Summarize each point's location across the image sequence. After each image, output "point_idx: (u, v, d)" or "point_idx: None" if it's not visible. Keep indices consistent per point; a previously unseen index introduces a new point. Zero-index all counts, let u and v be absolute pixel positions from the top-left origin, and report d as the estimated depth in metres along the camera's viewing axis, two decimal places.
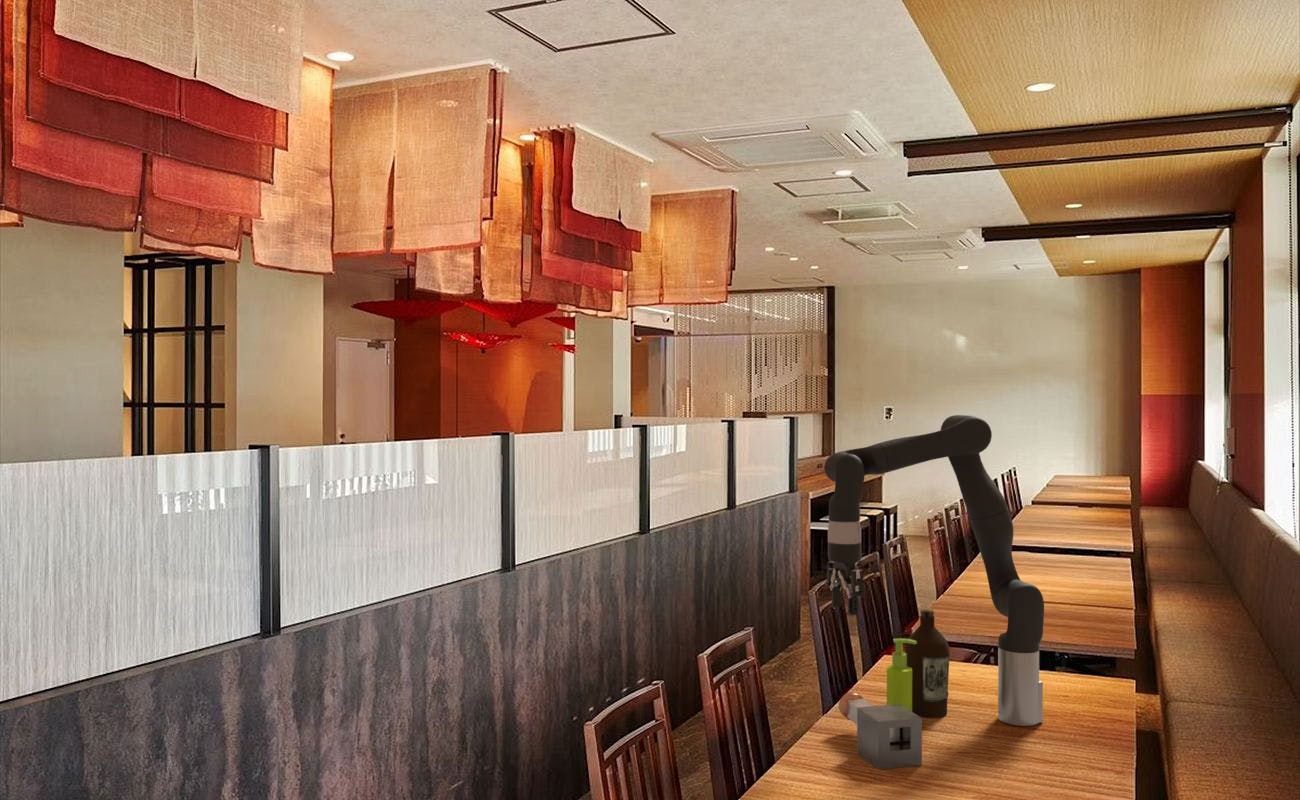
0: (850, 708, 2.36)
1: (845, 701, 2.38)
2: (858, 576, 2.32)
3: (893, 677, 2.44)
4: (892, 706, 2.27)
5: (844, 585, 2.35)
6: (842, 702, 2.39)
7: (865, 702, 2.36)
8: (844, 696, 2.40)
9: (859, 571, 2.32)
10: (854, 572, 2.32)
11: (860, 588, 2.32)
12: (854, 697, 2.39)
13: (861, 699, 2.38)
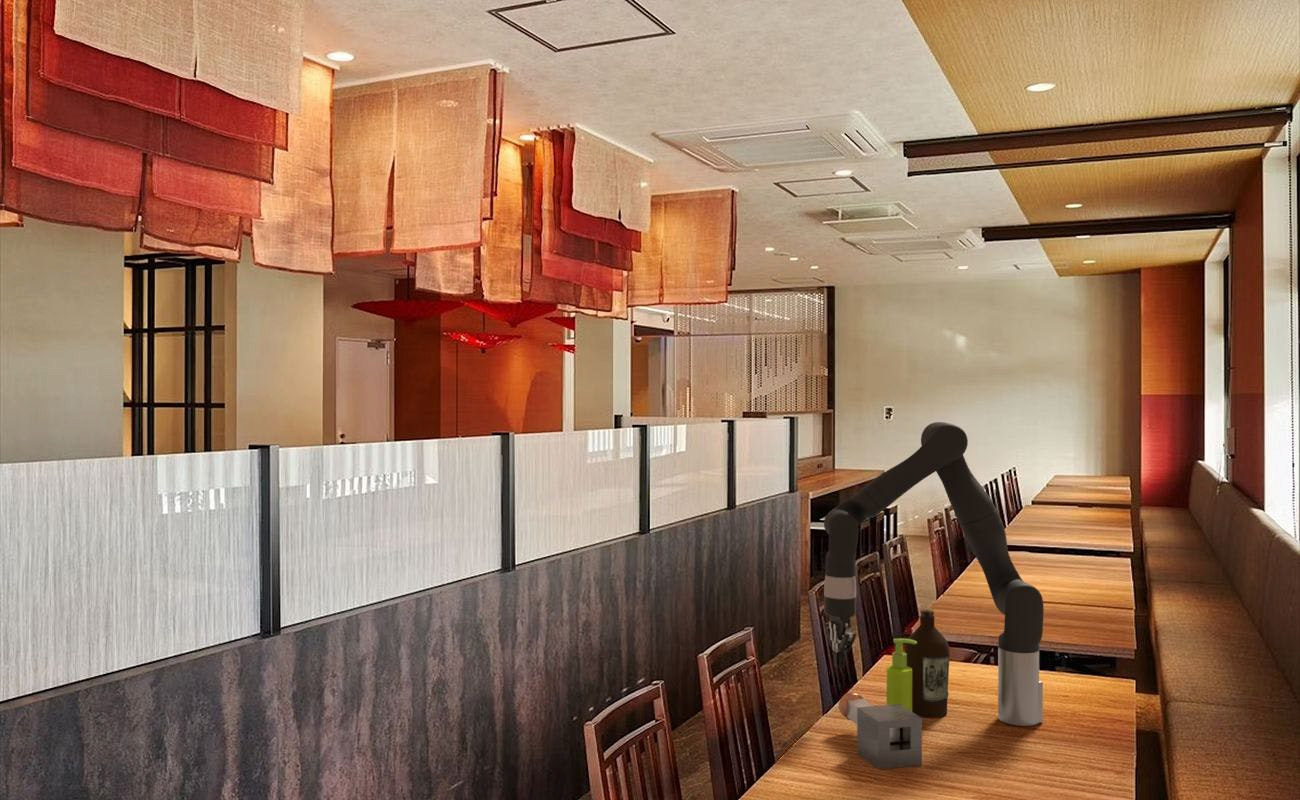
0: (850, 708, 2.36)
1: (845, 701, 2.38)
2: (850, 639, 2.41)
3: (893, 677, 2.44)
4: (892, 706, 2.27)
5: (835, 640, 2.45)
6: (842, 702, 2.39)
7: (865, 702, 2.36)
8: (844, 696, 2.40)
9: (852, 636, 2.41)
10: (847, 637, 2.40)
11: None
12: (854, 697, 2.39)
13: (861, 699, 2.38)
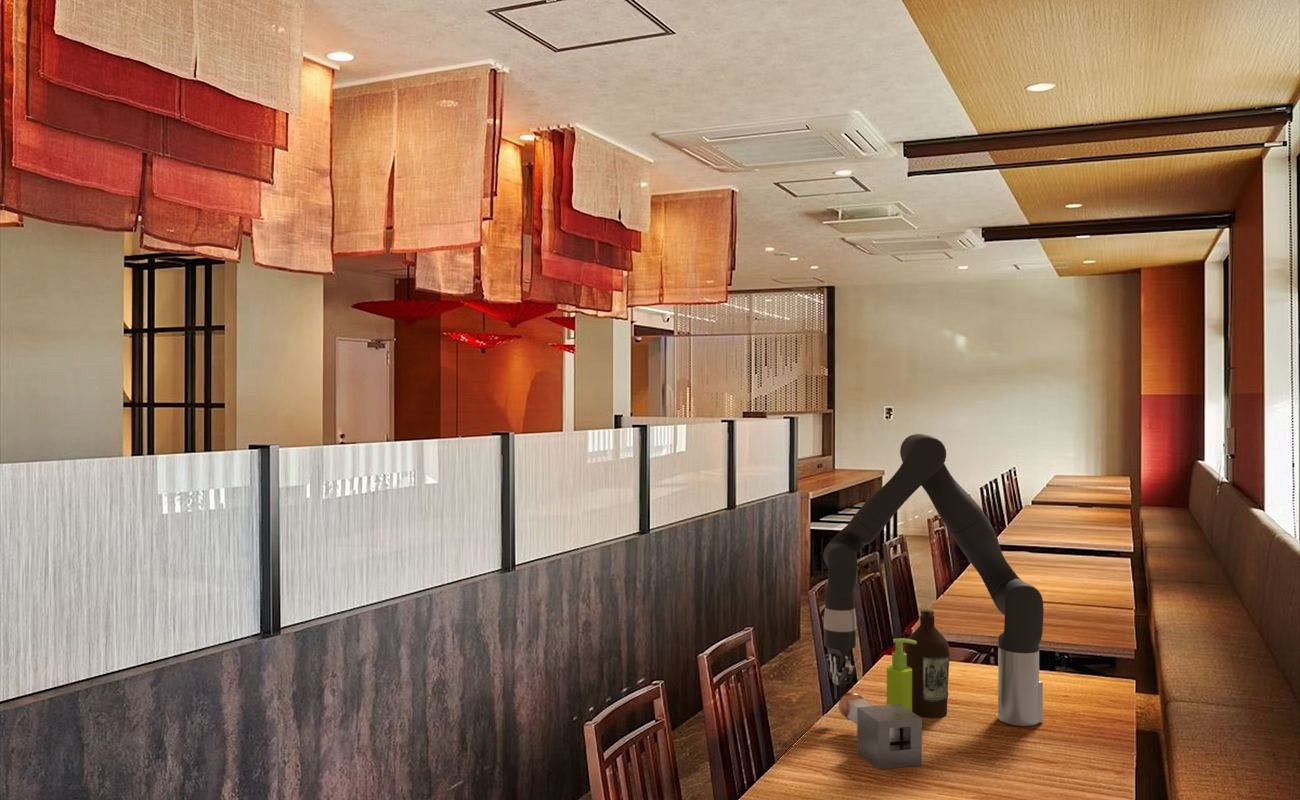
0: (850, 708, 2.36)
1: (845, 701, 2.38)
2: (850, 672, 2.41)
3: (893, 677, 2.44)
4: (892, 706, 2.27)
5: (835, 672, 2.45)
6: (842, 702, 2.39)
7: (865, 702, 2.36)
8: (844, 696, 2.40)
9: (852, 669, 2.41)
10: (847, 670, 2.40)
11: (848, 678, 2.43)
12: (854, 697, 2.39)
13: (861, 699, 2.38)
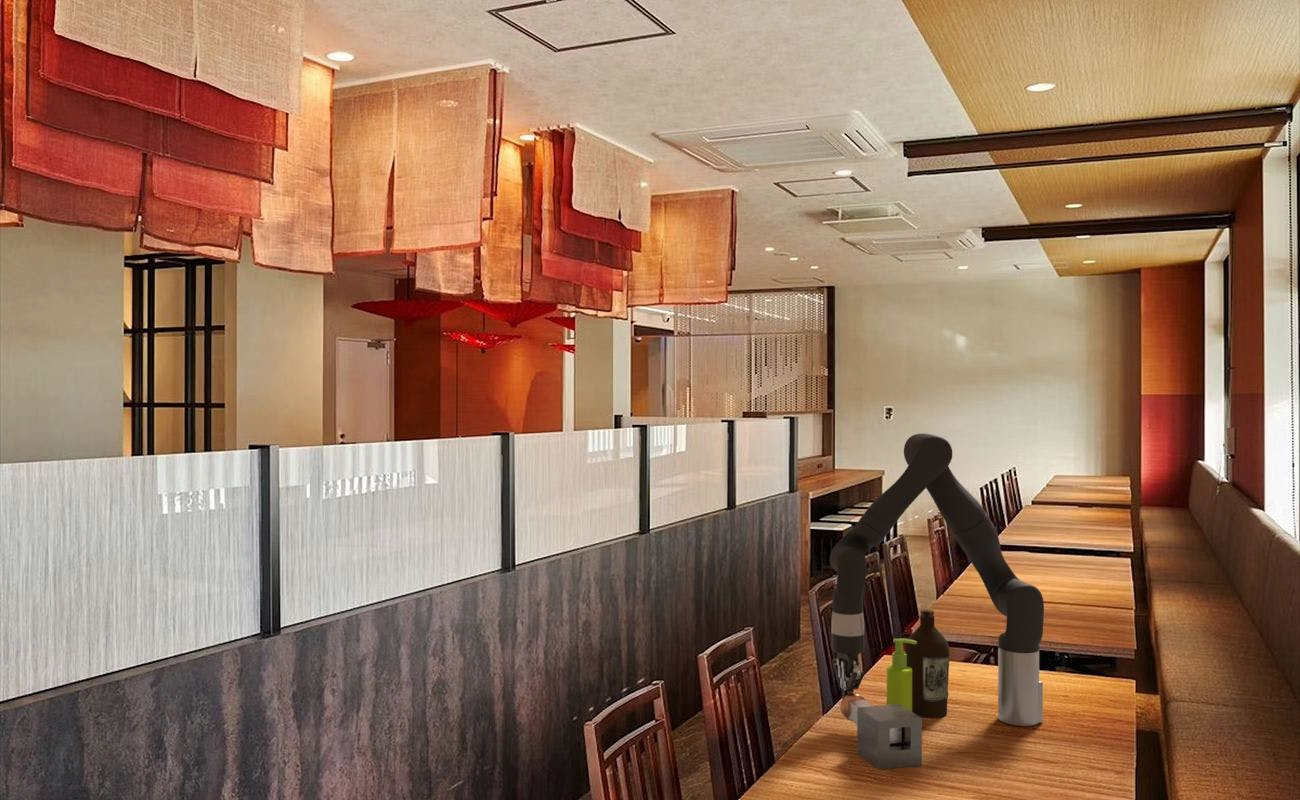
0: (852, 709, 2.36)
1: (846, 702, 2.38)
2: (858, 678, 2.37)
3: (893, 677, 2.44)
4: (892, 706, 2.27)
5: (843, 677, 2.41)
6: (843, 703, 2.38)
7: (867, 703, 2.35)
8: (846, 697, 2.39)
9: (860, 674, 2.37)
10: (855, 675, 2.36)
11: (856, 683, 2.39)
12: (855, 698, 2.38)
13: (863, 700, 2.38)
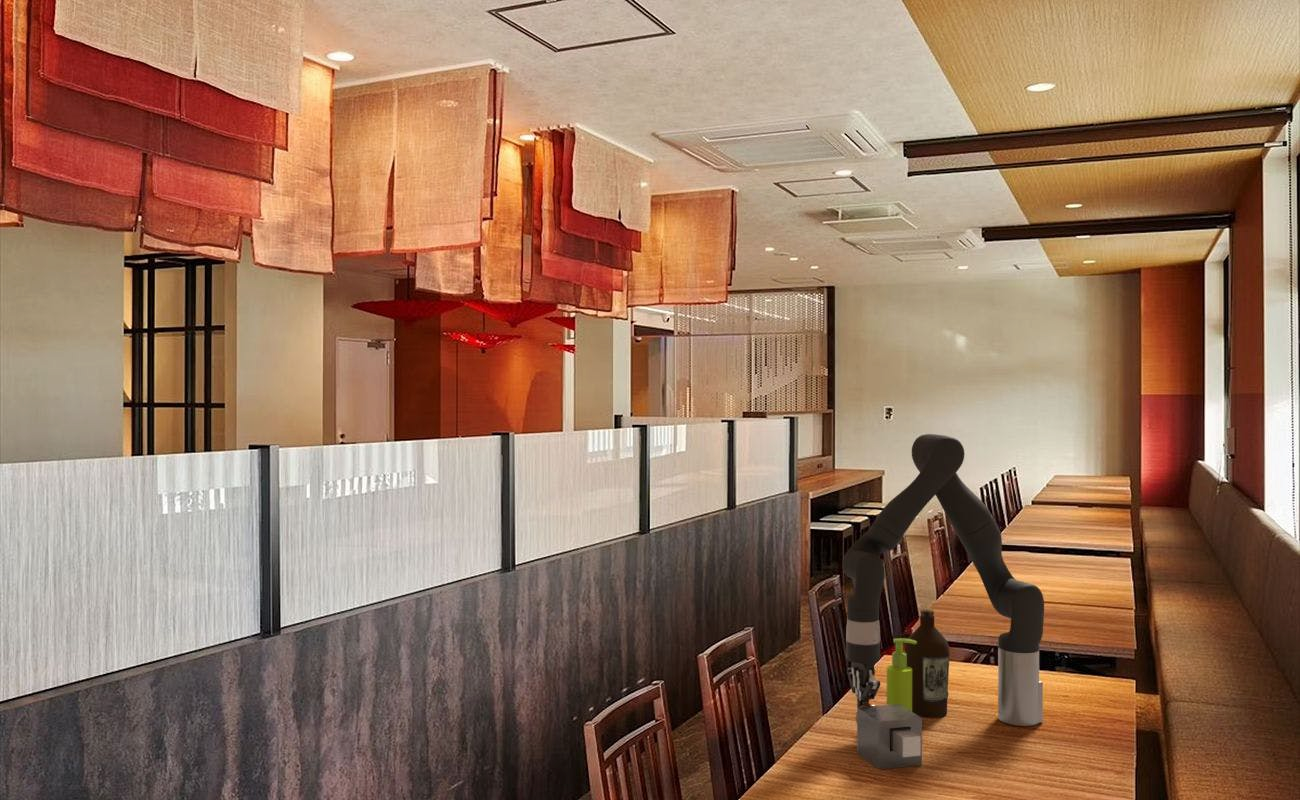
0: None
1: None
2: (874, 688, 2.29)
3: (893, 677, 2.44)
4: (892, 706, 2.27)
5: (858, 687, 2.33)
6: None
7: None
8: None
9: (877, 684, 2.29)
10: (871, 685, 2.29)
11: (872, 693, 2.32)
12: None
13: None
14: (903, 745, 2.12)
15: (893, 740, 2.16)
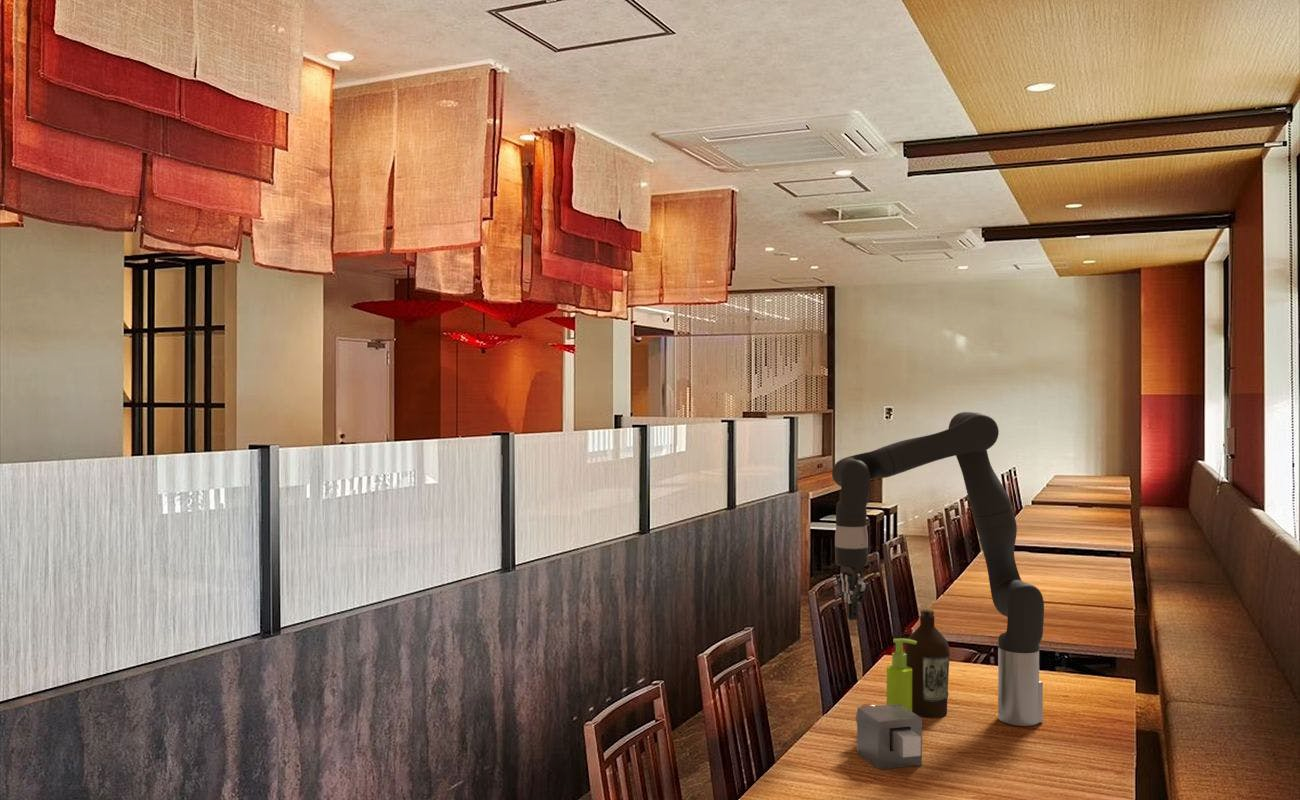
0: None
1: None
2: (862, 590, 2.36)
3: (893, 677, 2.44)
4: (892, 706, 2.27)
5: (847, 591, 2.40)
6: None
7: None
8: None
9: (865, 585, 2.36)
10: (860, 587, 2.35)
11: (861, 596, 2.38)
12: None
13: None
14: (903, 745, 2.12)
15: (893, 740, 2.16)
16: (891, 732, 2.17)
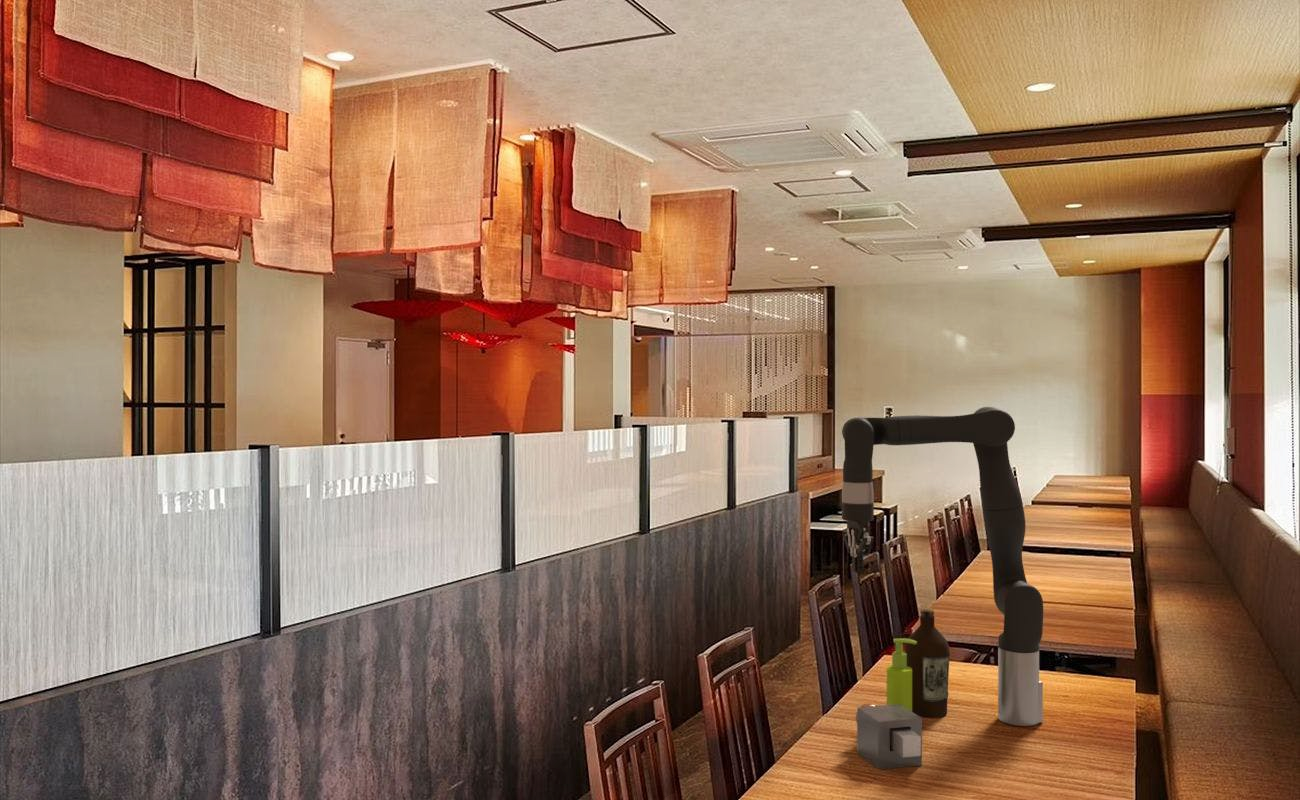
0: None
1: None
2: (868, 543, 2.45)
3: (893, 677, 2.44)
4: (892, 706, 2.27)
5: (853, 545, 2.49)
6: None
7: None
8: None
9: (870, 539, 2.45)
10: (865, 540, 2.45)
11: (866, 549, 2.48)
12: None
13: None
14: (903, 745, 2.12)
15: (893, 740, 2.16)
16: (891, 732, 2.17)
